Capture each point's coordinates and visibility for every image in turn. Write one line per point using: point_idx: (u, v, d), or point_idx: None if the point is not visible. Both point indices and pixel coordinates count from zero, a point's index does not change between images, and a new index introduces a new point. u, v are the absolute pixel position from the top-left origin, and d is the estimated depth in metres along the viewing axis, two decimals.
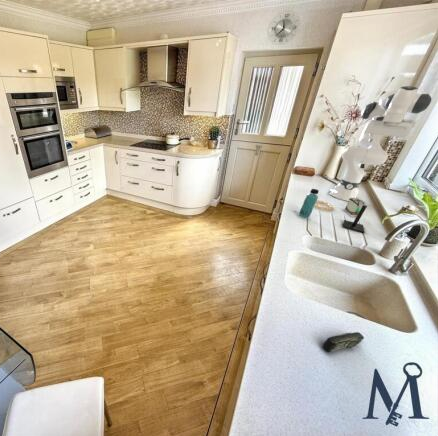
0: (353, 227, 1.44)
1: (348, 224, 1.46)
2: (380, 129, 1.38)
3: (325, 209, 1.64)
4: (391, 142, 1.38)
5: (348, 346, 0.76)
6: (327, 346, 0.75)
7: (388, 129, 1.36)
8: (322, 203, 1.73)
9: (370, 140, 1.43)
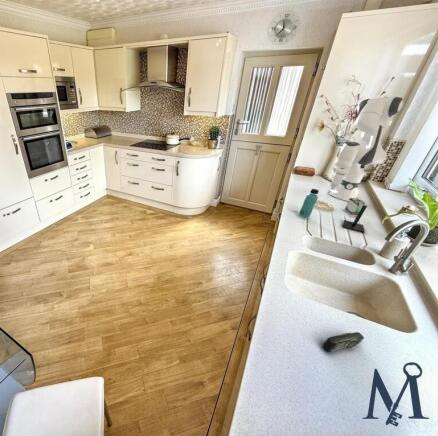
0: (353, 227, 1.44)
1: (348, 224, 1.46)
2: None
3: (325, 209, 1.64)
4: None
5: (348, 346, 0.76)
6: (327, 346, 0.75)
7: None
8: (322, 203, 1.73)
9: (334, 189, 1.53)
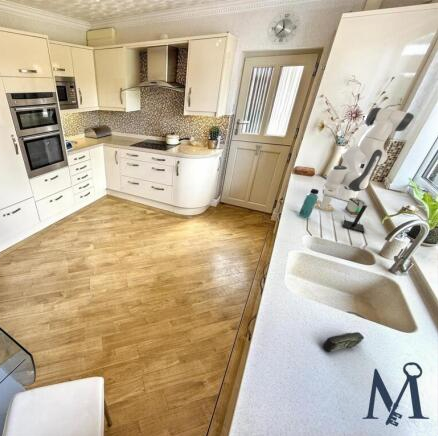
0: (353, 227, 1.44)
1: (348, 224, 1.46)
2: None
3: (325, 209, 1.64)
4: None
5: (348, 346, 0.76)
6: (327, 346, 0.75)
7: None
8: None
9: (323, 207, 1.63)
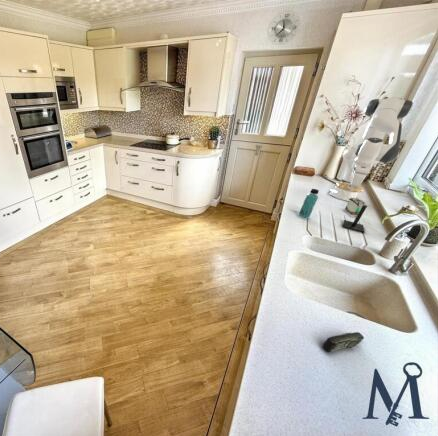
0: (353, 227, 1.44)
1: (348, 224, 1.46)
2: None
3: (355, 190, 1.42)
4: None
5: (348, 346, 0.76)
6: (327, 346, 0.75)
7: None
8: None
9: None
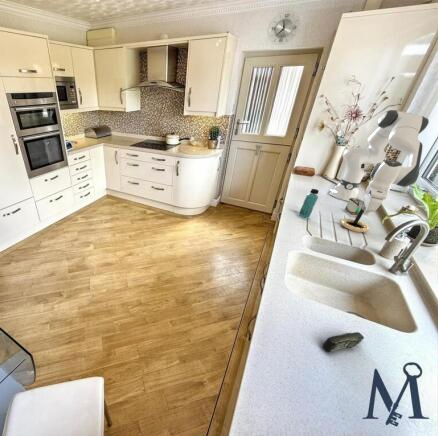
0: None
1: None
2: None
3: (361, 230, 1.38)
4: None
5: (348, 346, 0.76)
6: (327, 346, 0.75)
7: None
8: None
9: (367, 213, 1.32)
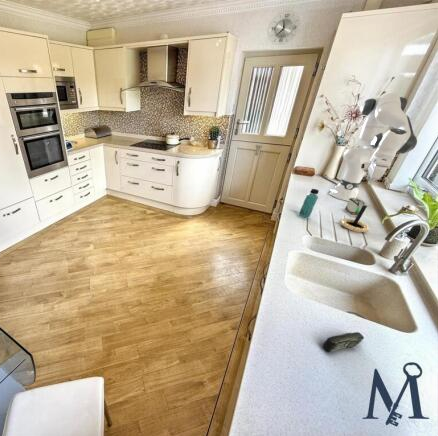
0: None
1: None
2: None
3: (361, 230, 1.38)
4: (370, 178, 1.42)
5: (348, 346, 0.76)
6: (327, 346, 0.75)
7: None
8: None
9: None
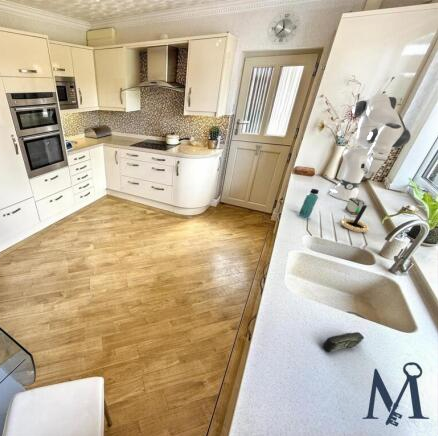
0: None
1: None
2: None
3: (361, 230, 1.38)
4: (368, 172, 1.46)
5: (348, 346, 0.76)
6: (327, 346, 0.75)
7: None
8: None
9: (369, 176, 1.39)
